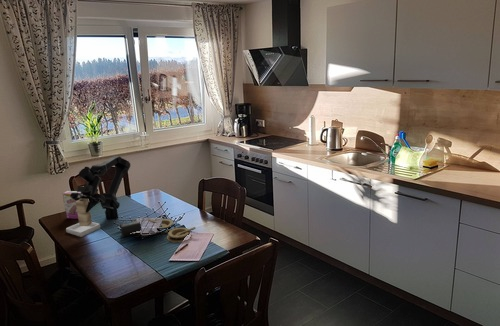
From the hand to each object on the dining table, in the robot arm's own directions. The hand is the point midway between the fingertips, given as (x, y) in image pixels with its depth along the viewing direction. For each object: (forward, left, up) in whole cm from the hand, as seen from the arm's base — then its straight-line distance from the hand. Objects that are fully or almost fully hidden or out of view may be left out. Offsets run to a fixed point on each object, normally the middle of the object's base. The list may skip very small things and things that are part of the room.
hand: (82, 212), depth 202 cm
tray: (+1, -8, -14) cm, 16 cm away
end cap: (-23, +10, -14) cm, 28 cm away
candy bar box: (+5, -30, -14) cm, 33 cm away
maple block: (-1, -1, -8) cm, 8 cm away
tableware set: (-43, +17, -15) cm, 49 cm away
